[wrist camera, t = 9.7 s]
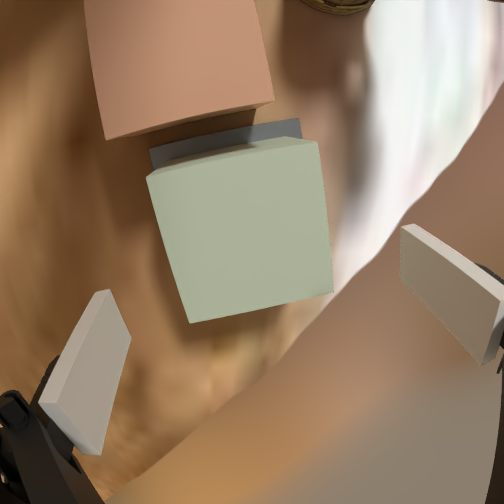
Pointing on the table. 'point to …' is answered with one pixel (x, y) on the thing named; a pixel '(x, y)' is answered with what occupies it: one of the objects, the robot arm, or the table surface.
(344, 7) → the wooden mug
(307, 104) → the table surface
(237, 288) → the sage cover
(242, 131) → the slate tile
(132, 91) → the terracotta cover
